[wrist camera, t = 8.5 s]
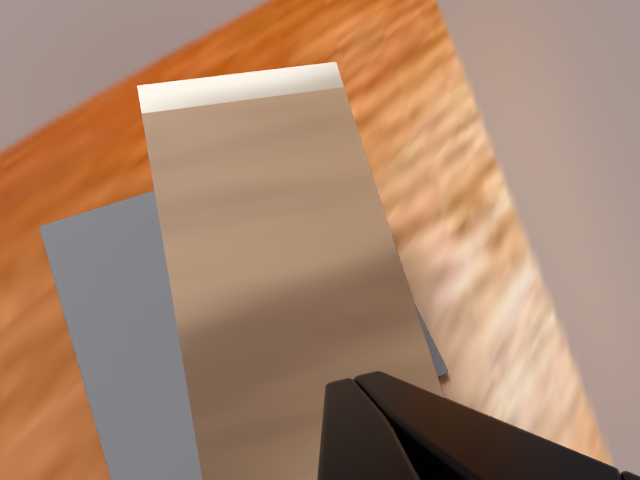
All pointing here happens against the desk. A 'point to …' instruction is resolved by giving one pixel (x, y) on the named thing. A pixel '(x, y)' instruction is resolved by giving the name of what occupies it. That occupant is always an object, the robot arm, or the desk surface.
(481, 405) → the desk surface
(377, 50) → the desk surface
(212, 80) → the tan wooden block
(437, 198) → the desk surface
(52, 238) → the mat
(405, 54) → the desk surface
